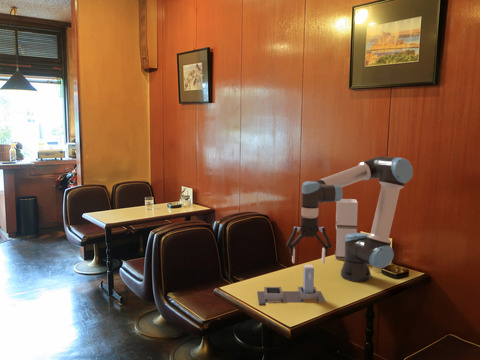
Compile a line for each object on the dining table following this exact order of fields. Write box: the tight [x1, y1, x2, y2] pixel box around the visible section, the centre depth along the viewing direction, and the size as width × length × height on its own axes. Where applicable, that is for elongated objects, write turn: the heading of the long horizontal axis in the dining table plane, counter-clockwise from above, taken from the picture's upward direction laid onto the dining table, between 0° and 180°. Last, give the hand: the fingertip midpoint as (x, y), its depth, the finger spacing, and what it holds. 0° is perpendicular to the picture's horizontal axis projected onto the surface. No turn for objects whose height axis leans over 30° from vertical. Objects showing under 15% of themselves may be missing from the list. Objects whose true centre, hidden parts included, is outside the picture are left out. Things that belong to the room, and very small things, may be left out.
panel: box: [257, 286, 327, 306], centre depth 177 cm, size 30×12×4 cm, turn 90°
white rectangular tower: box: [334, 198, 359, 261], centre depth 233 cm, size 11×11×35 cm
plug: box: [302, 264, 315, 293], centre depth 175 cm, size 4×6×15 cm
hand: (308, 262), depth 175 cm, fingers open, 13 cm apart
